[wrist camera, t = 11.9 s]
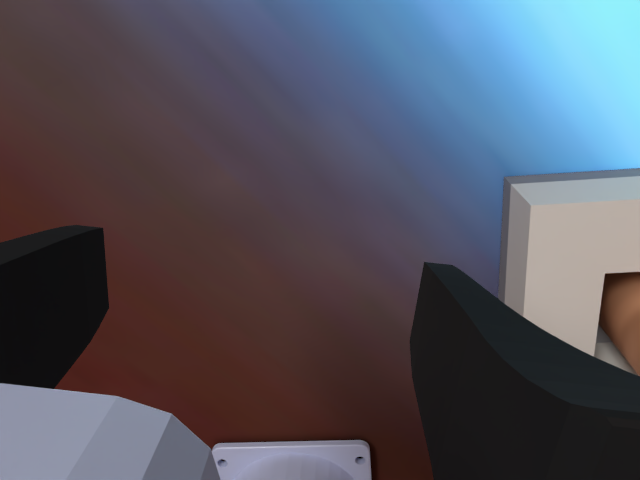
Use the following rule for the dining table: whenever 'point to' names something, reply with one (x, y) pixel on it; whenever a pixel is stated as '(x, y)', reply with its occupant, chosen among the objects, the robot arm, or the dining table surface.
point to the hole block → (569, 251)
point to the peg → (622, 314)
